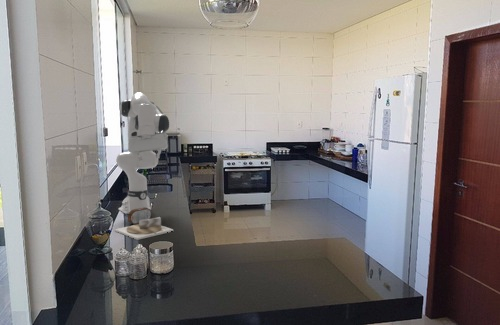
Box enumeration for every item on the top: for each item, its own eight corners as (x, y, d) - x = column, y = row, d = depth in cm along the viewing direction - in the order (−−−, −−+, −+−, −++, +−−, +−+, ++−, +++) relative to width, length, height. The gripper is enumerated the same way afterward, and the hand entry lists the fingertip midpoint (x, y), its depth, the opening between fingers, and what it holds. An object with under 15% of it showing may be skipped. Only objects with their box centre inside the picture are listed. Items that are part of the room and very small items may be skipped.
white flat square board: (114, 231, 209) (114, 228, 209) (150, 223, 225) (150, 221, 225) (137, 240, 194) (136, 237, 194) (173, 231, 210) (173, 229, 210)
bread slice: (149, 219, 233) (149, 206, 232) (152, 220, 231) (152, 206, 230) (127, 224, 222) (127, 210, 221) (130, 225, 220) (130, 211, 219)
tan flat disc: (138, 236, 196) (138, 227, 196) (120, 229, 209) (120, 220, 208) (169, 228, 210) (169, 220, 210) (150, 222, 223) (150, 214, 222)
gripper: (168, 132, 206) (170, 157, 204) (131, 137, 208) (132, 162, 205) (164, 129, 200) (166, 155, 197) (126, 134, 202) (127, 160, 199)
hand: (148, 159), depth 201 cm, fingers open, 8 cm apart
